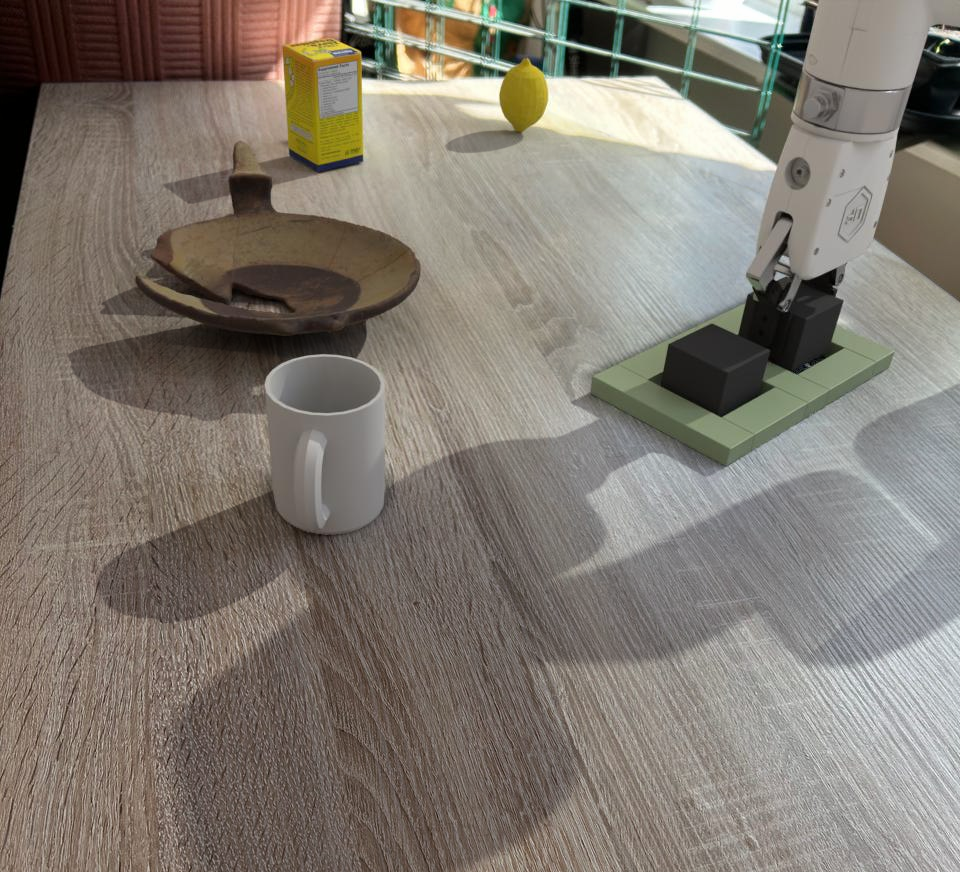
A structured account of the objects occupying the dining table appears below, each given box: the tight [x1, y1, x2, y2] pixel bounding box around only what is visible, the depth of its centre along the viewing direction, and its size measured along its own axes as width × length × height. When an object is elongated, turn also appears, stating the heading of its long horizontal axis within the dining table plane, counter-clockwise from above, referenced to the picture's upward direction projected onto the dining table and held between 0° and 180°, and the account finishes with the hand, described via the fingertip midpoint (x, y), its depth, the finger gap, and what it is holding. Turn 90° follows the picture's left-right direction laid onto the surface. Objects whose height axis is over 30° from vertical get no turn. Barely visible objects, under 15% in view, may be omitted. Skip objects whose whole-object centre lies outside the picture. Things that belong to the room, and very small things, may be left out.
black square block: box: [738, 275, 845, 373], centre depth 89 cm, size 6×6×4 cm
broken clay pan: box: [134, 140, 421, 337], centre depth 91 cm, size 22×30×8 cm
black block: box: [660, 323, 770, 418], centre depth 84 cm, size 6×6×4 cm
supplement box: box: [281, 37, 364, 173], centre depth 114 cm, size 6×6×11 cm
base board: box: [589, 302, 896, 467], centre depth 88 cm, size 23×13×2 cm, turn 135°
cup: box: [264, 353, 386, 536], centre depth 68 cm, size 7×10×9 cm
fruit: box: [498, 56, 549, 133], centre depth 125 cm, size 6×6×8 cm
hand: (785, 337), depth 89 cm, fingers closed on black square block, 5 cm apart
